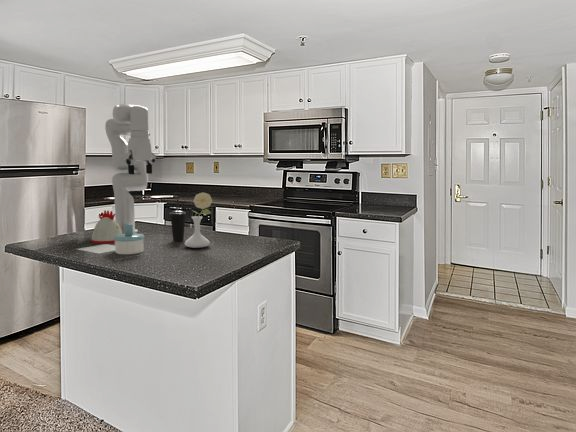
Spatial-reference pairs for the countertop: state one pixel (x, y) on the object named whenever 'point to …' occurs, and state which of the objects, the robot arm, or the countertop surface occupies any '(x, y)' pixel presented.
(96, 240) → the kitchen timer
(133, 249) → the bowl
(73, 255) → the countertop surface
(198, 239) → the flower in vase
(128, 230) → the lid
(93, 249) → the mat
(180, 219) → the drinking cup
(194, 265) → the countertop surface
